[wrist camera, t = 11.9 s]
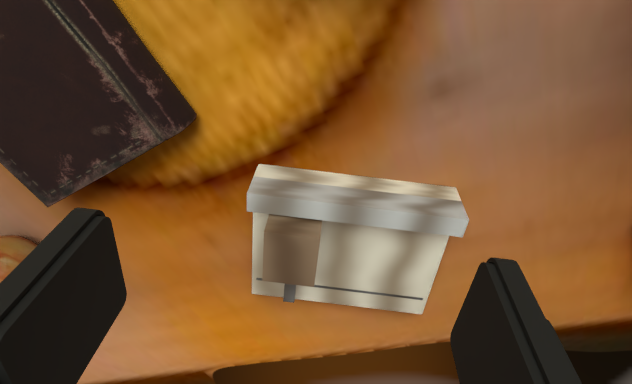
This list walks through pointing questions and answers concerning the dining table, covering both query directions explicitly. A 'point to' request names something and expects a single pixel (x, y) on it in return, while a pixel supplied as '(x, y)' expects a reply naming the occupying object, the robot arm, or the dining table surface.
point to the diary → (78, 94)
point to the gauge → (291, 252)
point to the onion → (13, 253)
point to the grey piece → (360, 234)
